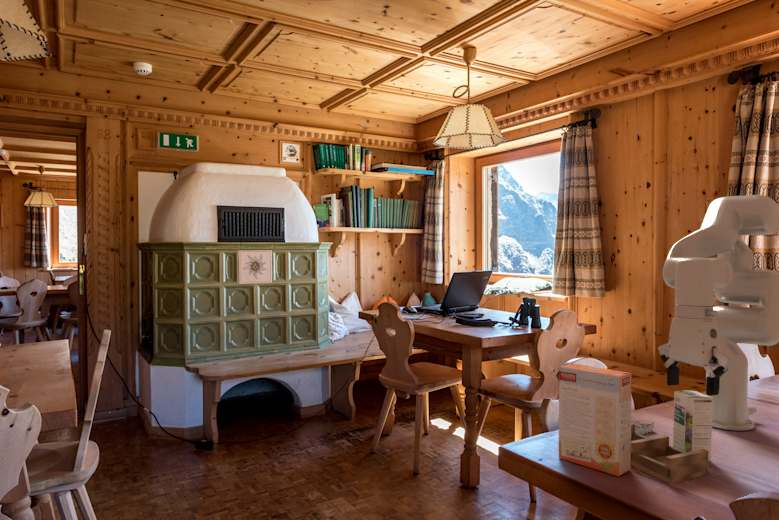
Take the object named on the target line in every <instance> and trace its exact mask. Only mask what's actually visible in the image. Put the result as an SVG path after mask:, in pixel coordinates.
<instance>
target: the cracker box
mask: <svg viewBox="0 0 779 520" xmlns="http://www.w3.org/2000/svg"><path fill="white" fill-rule="evenodd" d="M558 370H559V371H558V373H559V374H558V376H559V377H558V378H559V380H558V385H559V386H558V387H559V388H558V459H561V460H564V461H568V462H570V463H573V464H578V465H580V466H583V467H588V468H590V469H593V470H596V471H599V472H603V473H606V474H610V475H612V476H615V477H620V476H621V475H624V474H626V473H628V472H629V471H631V469H632V466H631V421H632V373H631V372H627V371H620V370H615V369H609V368H604V367H603V368H602V367H597V366H591V365H584V364H578V363H568V364H565V365H560V366H559V368H558Z"/></svg>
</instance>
